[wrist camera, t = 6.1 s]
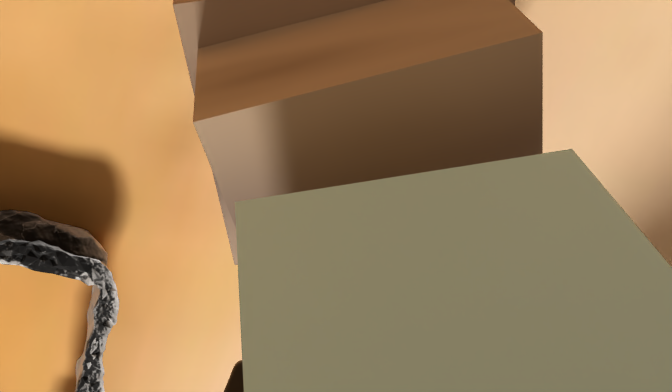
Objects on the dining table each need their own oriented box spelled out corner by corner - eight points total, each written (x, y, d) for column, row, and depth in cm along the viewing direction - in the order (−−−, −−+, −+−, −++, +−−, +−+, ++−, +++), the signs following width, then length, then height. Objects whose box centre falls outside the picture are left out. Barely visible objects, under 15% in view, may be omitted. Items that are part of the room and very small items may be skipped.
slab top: (495, 199, 17) (542, 279, 14) (274, 256, 17) (283, 345, 14) (482, -25, 13) (542, 32, 10) (197, 48, 13) (193, 122, 11)
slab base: (458, 161, 19) (492, 222, 17) (232, 197, 19) (234, 265, 17) (471, -78, 15) (519, -41, 13) (179, -42, 15) (172, 4, 12)
